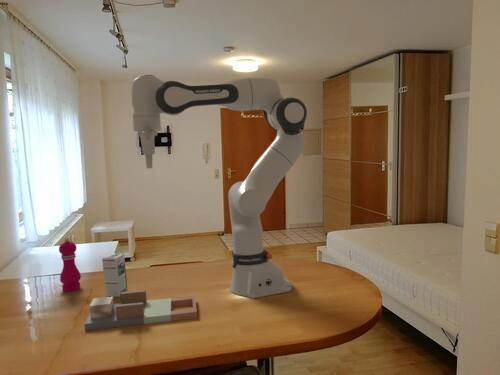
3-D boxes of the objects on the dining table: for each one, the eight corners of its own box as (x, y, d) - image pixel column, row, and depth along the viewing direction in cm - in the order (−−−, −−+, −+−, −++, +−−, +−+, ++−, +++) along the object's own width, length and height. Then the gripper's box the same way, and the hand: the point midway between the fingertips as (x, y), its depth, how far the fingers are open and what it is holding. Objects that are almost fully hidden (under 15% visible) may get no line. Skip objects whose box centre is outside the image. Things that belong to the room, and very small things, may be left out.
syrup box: (119, 297, 143) (116, 257, 141) (104, 296, 144) (101, 257, 142) (127, 291, 148) (124, 253, 146) (113, 290, 149) (110, 252, 148)
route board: (195, 301, 137) (194, 284, 136) (197, 317, 124) (196, 299, 123) (94, 311, 131) (92, 294, 130) (85, 330, 118) (83, 311, 117)
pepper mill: (61, 293, 148) (56, 241, 145) (60, 287, 154) (55, 237, 152) (82, 289, 151) (77, 238, 149) (80, 284, 157) (76, 234, 155)
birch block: (114, 308, 128) (113, 296, 128) (111, 316, 123) (110, 303, 122) (94, 310, 127) (93, 298, 127) (90, 318, 122) (89, 305, 121)
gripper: (158, 124, 123) (160, 169, 125) (155, 126, 143) (157, 165, 145) (136, 124, 122) (139, 169, 123) (137, 126, 141) (139, 165, 143)
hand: (149, 167), depth 134 cm, fingers open, 8 cm apart
